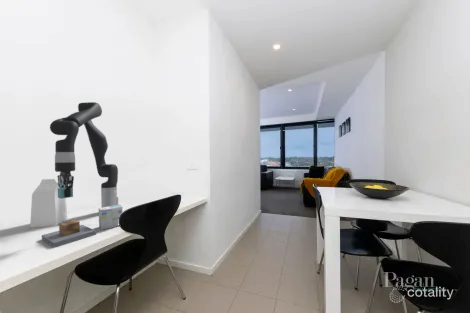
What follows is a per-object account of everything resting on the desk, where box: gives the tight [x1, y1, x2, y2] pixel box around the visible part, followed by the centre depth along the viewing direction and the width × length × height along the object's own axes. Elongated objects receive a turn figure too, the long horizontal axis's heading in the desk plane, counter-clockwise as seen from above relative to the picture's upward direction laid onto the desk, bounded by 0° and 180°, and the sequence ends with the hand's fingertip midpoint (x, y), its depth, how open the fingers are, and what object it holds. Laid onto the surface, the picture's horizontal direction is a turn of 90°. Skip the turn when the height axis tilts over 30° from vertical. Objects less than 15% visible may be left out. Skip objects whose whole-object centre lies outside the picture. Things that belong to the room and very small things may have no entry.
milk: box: [29, 178, 68, 228], centre depth 116 cm, size 12×12×26 cm
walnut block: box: [58, 219, 81, 236], centre depth 96 cm, size 6×6×5 cm
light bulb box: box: [98, 204, 124, 231], centre depth 110 cm, size 11×7×11 cm, turn 135°
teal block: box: [58, 187, 74, 199], centre depth 96 cm, size 4×4×4 cm
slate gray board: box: [41, 224, 97, 248], centre depth 96 cm, size 16×16×2 cm
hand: (65, 196), depth 96 cm, fingers closed on teal block, 4 cm apart
